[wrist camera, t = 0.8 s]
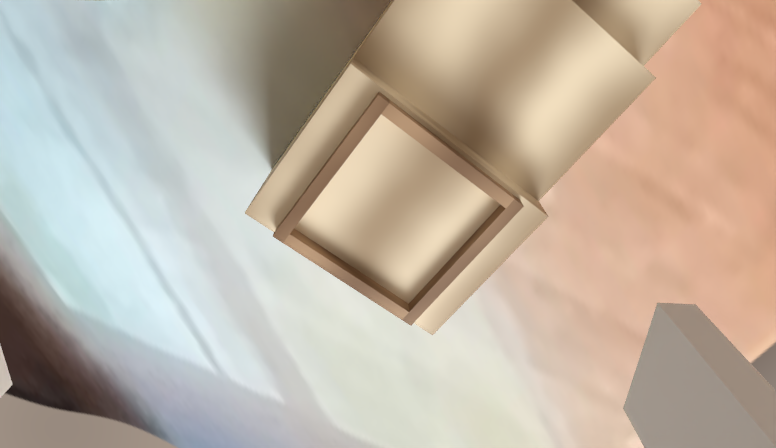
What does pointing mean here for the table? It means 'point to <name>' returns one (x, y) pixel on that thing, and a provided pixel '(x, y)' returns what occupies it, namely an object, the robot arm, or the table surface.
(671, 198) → the table surface
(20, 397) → the table surface
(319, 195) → the step stand
